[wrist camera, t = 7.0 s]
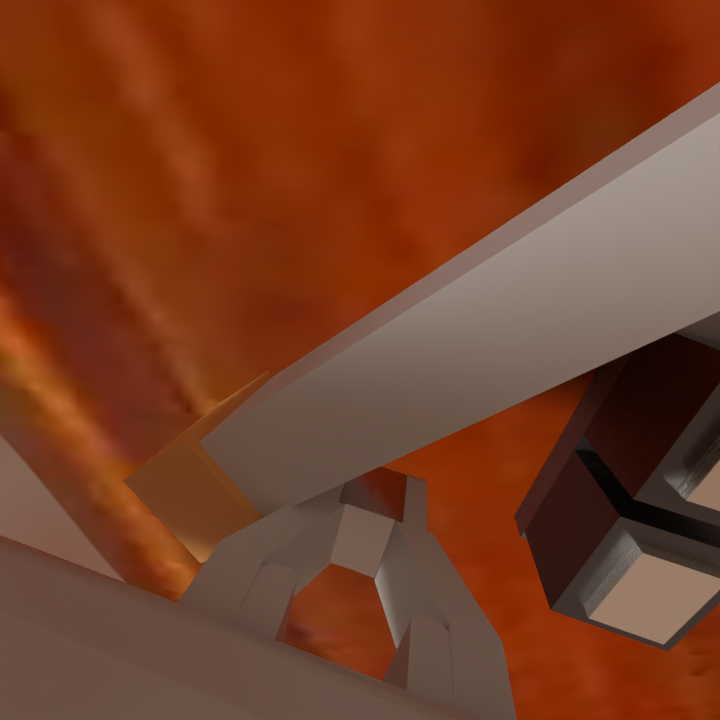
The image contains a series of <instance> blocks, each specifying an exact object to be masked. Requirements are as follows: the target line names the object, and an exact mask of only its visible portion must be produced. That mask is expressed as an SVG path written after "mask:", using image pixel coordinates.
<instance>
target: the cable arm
mask: <svg viewBox="0 0 720 720" xmlns="http://www.w3.org/2000/svg"><path fill="white" fill-rule="evenodd" d="M719 311H720V82H719V83H718V84H716V85H714V86H713V87H711V88H710V89H708V90H707V91H705V92H704V93H702V94H701V95H699V96H698V97H696V98H695V99H693V100H692V101H690V102H689V103H687V104H686V105H684V106H683V107H681V108H680V109H678V110H677V111H675V112H674V113H672V114H671V115H669V116H668V117H666V118H664V119H663V120H661V121H660V122H658V123H657V124H655V125H654V126H652V127H651V128H649V129H648V130H646V131H645V132H643V133H642V134H640V135H639V136H637V137H636V138H634V139H633V140H631V141H630V142H628V143H627V144H625V145H624V146H622V147H621V148H619V149H618V150H616V151H614V152H613V153H611V154H610V155H608V156H607V157H605V158H604V159H602V160H601V161H599V162H598V163H596V164H595V165H593V166H592V167H590V168H589V169H587V170H586V171H584V172H583V173H581V174H580V175H578V176H577V177H575V178H574V179H572V180H571V181H569V182H568V183H566V184H564V185H563V186H561V187H560V188H558V189H557V190H555V191H554V192H552V193H551V194H549V195H548V196H546V197H545V198H543V199H542V200H540V201H539V202H537V203H536V204H534V205H533V206H531V207H530V208H528V209H527V210H525V211H524V212H522V213H521V214H519V215H518V216H516V217H514V218H513V219H511V220H510V221H508V222H507V223H505V224H504V225H502V226H501V227H499V228H498V229H496V230H495V231H493V232H492V233H490V234H489V235H487V236H486V237H484V238H483V239H481V240H480V241H478V242H477V243H475V244H474V245H472V246H471V247H469V248H468V249H466V250H464V251H463V252H461V253H460V254H458V255H457V256H455V257H454V258H452V259H451V260H449V261H448V262H446V263H445V264H443V265H442V266H440V267H439V268H437V269H436V270H434V271H433V272H431V273H430V274H428V275H427V276H425V277H424V278H422V279H421V280H419V281H418V282H416V283H414V284H413V285H411V286H410V287H408V288H407V289H405V290H404V291H402V292H401V293H399V294H398V295H396V296H395V297H393V298H392V299H390V300H389V301H387V302H386V303H384V304H383V305H381V306H380V307H378V308H377V309H375V310H374V311H372V312H371V313H369V314H367V315H366V316H364V317H363V318H361V319H360V320H358V321H357V322H355V323H354V324H352V325H351V326H349V327H348V328H346V329H345V330H343V331H342V332H340V333H339V334H337V335H336V336H334V337H333V338H331V339H330V340H328V341H327V342H325V343H324V344H322V345H321V346H319V347H317V348H316V349H314V350H313V351H311V352H310V353H308V354H307V355H305V356H304V357H302V358H301V359H299V360H298V361H296V362H295V363H293V364H292V365H290V366H289V367H287V368H286V369H284V370H283V371H281V372H280V373H278V374H277V375H275V376H274V377H273V376H272V375H271V374H270V372H269V371H267V372H265V373H264V374H262V375H261V376H259V377H258V378H256V379H255V380H253V381H252V382H250V383H249V384H247V385H246V386H245V387H243V388H242V389H240V390H239V391H237V392H236V393H234V394H233V395H231V396H230V397H228V398H227V399H225V400H224V401H222V402H221V403H219V404H218V405H217V406H216V407H214V408H213V409H212V410H211V411H209V412H208V413H207V414H206V415H204V416H203V417H202V418H201V419H199V420H198V421H197V422H196V423H194V424H193V425H192V426H191V427H189V428H188V429H187V430H186V431H184V432H183V433H182V434H181V435H179V436H178V437H177V438H175V439H174V440H173V441H172V442H170V443H169V444H168V445H167V446H165V447H164V448H163V449H162V450H160V451H159V452H158V453H157V454H155V455H154V456H153V457H152V458H150V459H149V460H148V461H147V462H145V463H144V464H143V465H142V466H140V467H139V468H138V469H137V470H135V471H134V472H133V473H132V474H130V475H129V476H128V477H127V478H125V479H124V480H123V481H124V483H125V484H126V485H127V486H128V487H129V488H130V489H131V490H132V491H133V492H134V493H135V494H136V495H137V496H138V497H139V498H140V500H141V501H142V502H143V503H144V504H145V505H146V506H147V507H148V508H149V509H150V510H151V511H152V512H153V513H154V514H155V515H156V516H157V518H158V519H159V520H160V521H161V522H162V523H163V524H164V525H165V526H166V527H167V528H168V529H169V530H170V531H171V532H172V533H173V534H174V536H175V537H176V538H177V539H178V540H179V541H180V542H181V543H182V544H183V545H184V546H185V547H186V548H187V549H188V550H189V551H190V553H191V554H192V555H193V556H194V557H195V558H196V559H197V560H198V561H199V562H200V563H203V562H205V561H207V559H208V558H209V557H210V555H211V554H212V552H213V551H214V549H215V548H216V547H217V545H218V544H219V542H220V541H221V540H223V539H224V538H226V537H228V536H230V535H232V534H234V533H236V532H238V531H239V530H241V529H243V528H245V527H247V526H249V525H251V524H252V523H254V522H256V521H258V520H260V519H262V518H264V517H266V516H267V515H269V514H271V513H273V512H275V511H277V510H279V509H281V508H282V507H284V506H286V505H288V506H291V507H293V506H295V505H297V504H299V503H301V502H304V501H306V500H308V499H310V498H312V497H315V496H317V495H319V494H321V493H323V492H325V491H328V490H330V489H332V488H334V487H336V486H339V485H341V484H343V483H345V482H347V481H349V480H352V479H354V478H356V477H358V476H360V475H363V474H365V473H367V472H369V471H371V470H374V469H376V468H378V467H380V466H382V465H384V464H387V463H389V462H391V461H393V460H395V459H398V458H400V457H402V456H404V455H406V454H409V453H411V452H413V451H415V450H417V449H419V448H422V447H424V446H426V445H428V444H430V443H433V442H435V441H437V440H439V439H441V438H443V437H446V436H448V435H450V434H452V433H454V432H457V431H459V430H461V429H463V428H465V427H468V426H470V425H472V424H474V423H476V422H478V421H481V420H483V419H485V418H487V417H489V416H492V415H494V414H496V413H498V412H500V411H502V410H505V409H507V408H509V407H511V406H513V405H516V404H518V403H520V402H522V401H524V400H527V399H529V398H531V397H533V396H535V395H537V394H540V393H542V392H544V391H546V390H548V389H551V388H553V387H555V386H557V385H559V384H562V383H564V382H566V381H568V380H570V379H572V378H575V377H577V376H579V375H581V374H583V373H586V372H588V371H590V370H592V369H594V368H596V367H599V366H601V365H603V364H605V363H607V362H610V361H612V360H614V359H616V358H618V357H621V356H623V355H625V354H627V353H629V352H631V351H634V350H636V349H638V348H640V347H642V346H645V345H647V344H649V343H651V342H653V341H656V340H658V339H660V338H662V337H664V336H666V335H669V334H671V333H673V332H675V331H677V330H680V329H682V328H684V327H686V326H688V325H690V324H693V323H695V322H697V321H699V320H701V319H704V318H706V317H708V316H710V315H712V314H715V313H717V312H719Z"/></svg>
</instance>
